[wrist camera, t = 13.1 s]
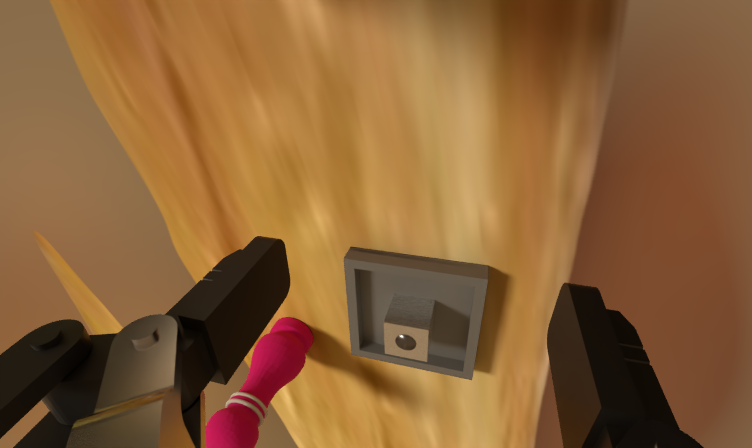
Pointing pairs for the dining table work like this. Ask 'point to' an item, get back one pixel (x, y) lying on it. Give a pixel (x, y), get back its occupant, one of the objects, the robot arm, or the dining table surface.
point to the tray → (425, 280)
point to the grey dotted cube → (409, 327)
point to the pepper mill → (260, 385)
